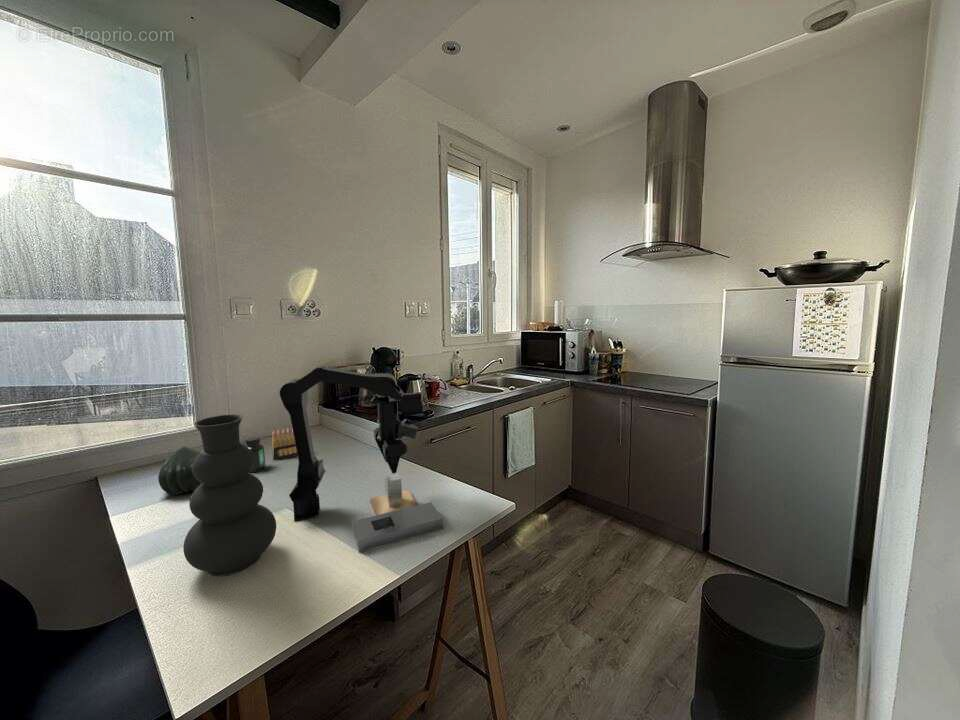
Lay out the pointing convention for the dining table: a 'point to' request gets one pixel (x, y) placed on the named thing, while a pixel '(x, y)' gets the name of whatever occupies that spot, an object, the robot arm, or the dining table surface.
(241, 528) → the vase
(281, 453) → the ammunition clip
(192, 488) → the squash
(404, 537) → the rail
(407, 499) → the oak pad
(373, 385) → the robot arm
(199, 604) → the dining table surface
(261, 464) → the supplement bottle
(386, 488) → the brushed metal block
